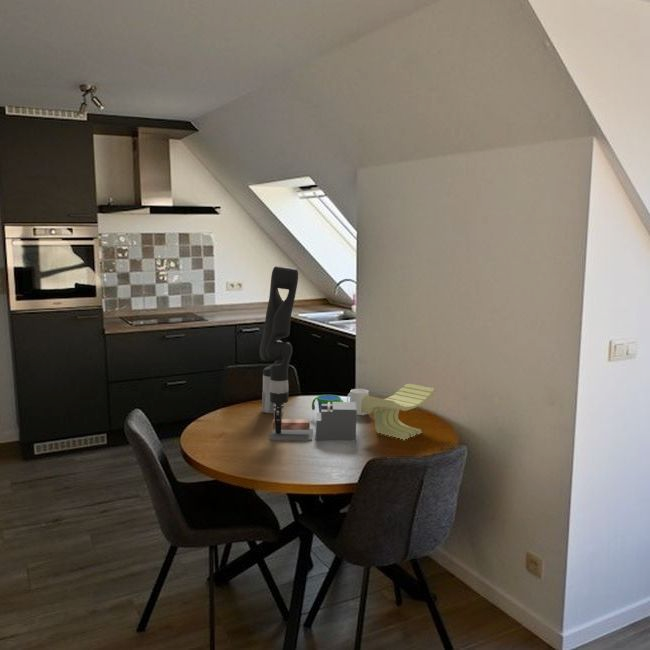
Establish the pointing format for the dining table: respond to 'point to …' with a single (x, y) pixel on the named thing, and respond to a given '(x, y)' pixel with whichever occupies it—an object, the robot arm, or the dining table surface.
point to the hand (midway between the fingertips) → (278, 430)
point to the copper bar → (293, 424)
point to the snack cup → (325, 400)
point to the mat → (292, 435)
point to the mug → (358, 398)
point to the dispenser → (337, 422)
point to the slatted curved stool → (396, 409)
